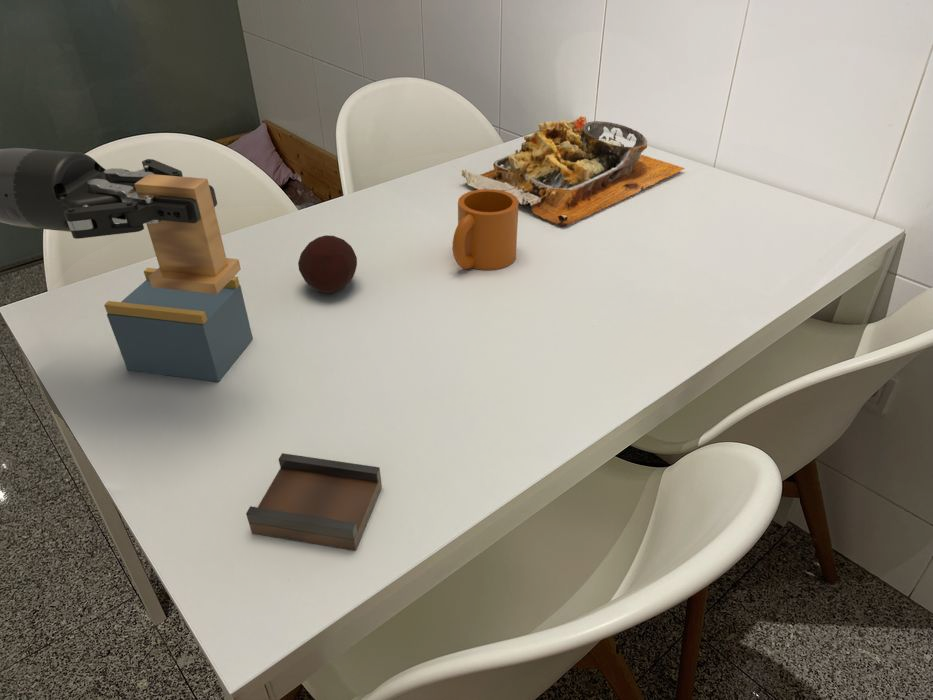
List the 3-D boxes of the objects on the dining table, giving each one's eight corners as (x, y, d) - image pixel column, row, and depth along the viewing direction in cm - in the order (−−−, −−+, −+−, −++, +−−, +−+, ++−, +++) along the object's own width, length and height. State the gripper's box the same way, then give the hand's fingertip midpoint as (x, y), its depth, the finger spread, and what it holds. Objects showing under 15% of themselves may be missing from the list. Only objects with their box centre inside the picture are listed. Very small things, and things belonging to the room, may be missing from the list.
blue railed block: (127, 370, 84) (102, 305, 78) (167, 329, 91) (148, 266, 85) (218, 382, 82) (200, 316, 76) (253, 338, 89) (238, 275, 83)
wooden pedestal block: (151, 287, 68) (120, 189, 62) (178, 262, 72) (151, 168, 66) (217, 294, 67) (191, 195, 61) (241, 269, 71) (219, 173, 65)
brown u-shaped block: (251, 533, 64) (245, 513, 62) (286, 472, 70) (281, 452, 68) (355, 551, 62) (352, 530, 60) (382, 486, 68) (379, 466, 66)
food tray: (580, 139, 147) (585, 87, 141) (685, 172, 132) (695, 115, 126) (458, 185, 128) (456, 127, 122) (563, 230, 113) (568, 166, 107)
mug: (429, 261, 105) (427, 205, 100) (489, 237, 111) (490, 183, 106) (468, 284, 99) (467, 226, 94) (529, 257, 105) (531, 202, 100)
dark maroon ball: (357, 269, 103) (351, 221, 99) (362, 301, 96) (357, 251, 91) (302, 275, 102) (293, 227, 97) (303, 308, 95) (294, 257, 90)
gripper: (-30, 180, 60) (152, 196, 57) (75, 127, 71) (233, 138, 68) (5, 258, 64) (175, 276, 61) (99, 197, 75) (248, 210, 72)
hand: (205, 204), depth 64 cm, fingers closed on wooden pedestal block, 2 cm apart
